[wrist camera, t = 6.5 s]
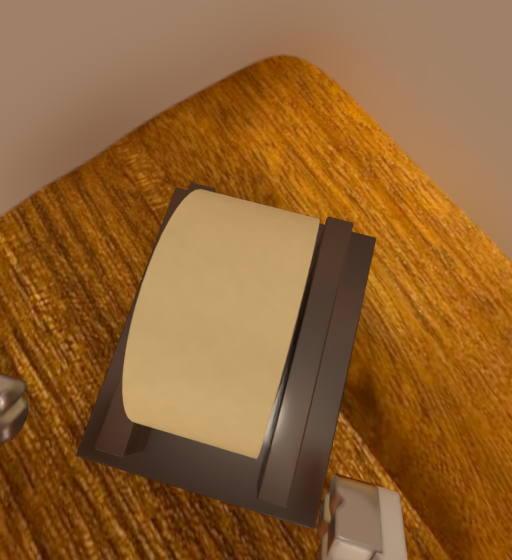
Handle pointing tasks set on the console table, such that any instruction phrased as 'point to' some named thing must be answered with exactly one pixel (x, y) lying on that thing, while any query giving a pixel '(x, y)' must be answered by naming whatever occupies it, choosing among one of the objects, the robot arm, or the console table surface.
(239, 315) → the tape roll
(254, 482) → the tape holder
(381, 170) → the console table surface
